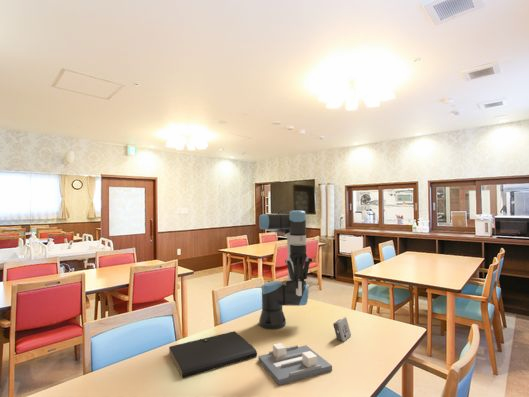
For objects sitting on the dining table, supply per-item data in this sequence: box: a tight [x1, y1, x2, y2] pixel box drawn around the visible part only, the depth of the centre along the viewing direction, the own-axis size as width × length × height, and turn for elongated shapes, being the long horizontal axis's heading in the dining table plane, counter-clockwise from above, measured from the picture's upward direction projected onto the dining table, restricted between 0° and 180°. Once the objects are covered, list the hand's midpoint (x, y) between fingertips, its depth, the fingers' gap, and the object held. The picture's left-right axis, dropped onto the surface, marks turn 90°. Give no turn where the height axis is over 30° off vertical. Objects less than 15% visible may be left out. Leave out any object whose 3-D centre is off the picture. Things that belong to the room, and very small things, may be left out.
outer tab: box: [302, 351, 317, 368], centre depth 123 cm, size 5×4×4 cm
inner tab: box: [272, 342, 287, 358], centre depth 131 cm, size 5×4×4 cm
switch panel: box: [257, 344, 333, 386], centre depth 127 cm, size 20×24×3 cm
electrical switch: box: [332, 317, 352, 343], centre depth 153 cm, size 9×5×9 cm, turn 141°
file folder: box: [168, 331, 258, 379], centre depth 137 cm, size 33×4×24 cm
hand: (298, 295), depth 140 cm, fingers closed
